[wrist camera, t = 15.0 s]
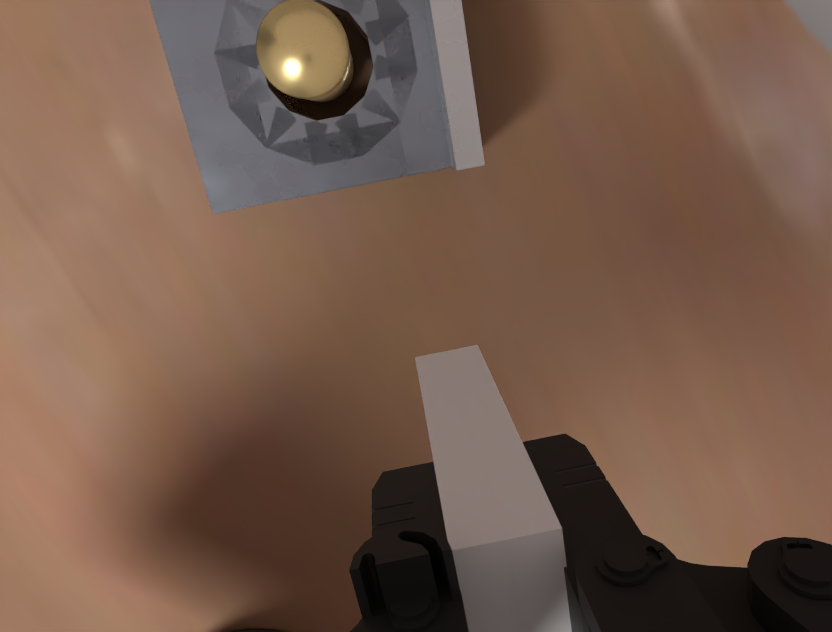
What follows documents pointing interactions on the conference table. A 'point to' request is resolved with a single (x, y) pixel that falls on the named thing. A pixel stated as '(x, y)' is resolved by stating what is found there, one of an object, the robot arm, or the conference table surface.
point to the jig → (309, 137)
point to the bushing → (305, 51)
